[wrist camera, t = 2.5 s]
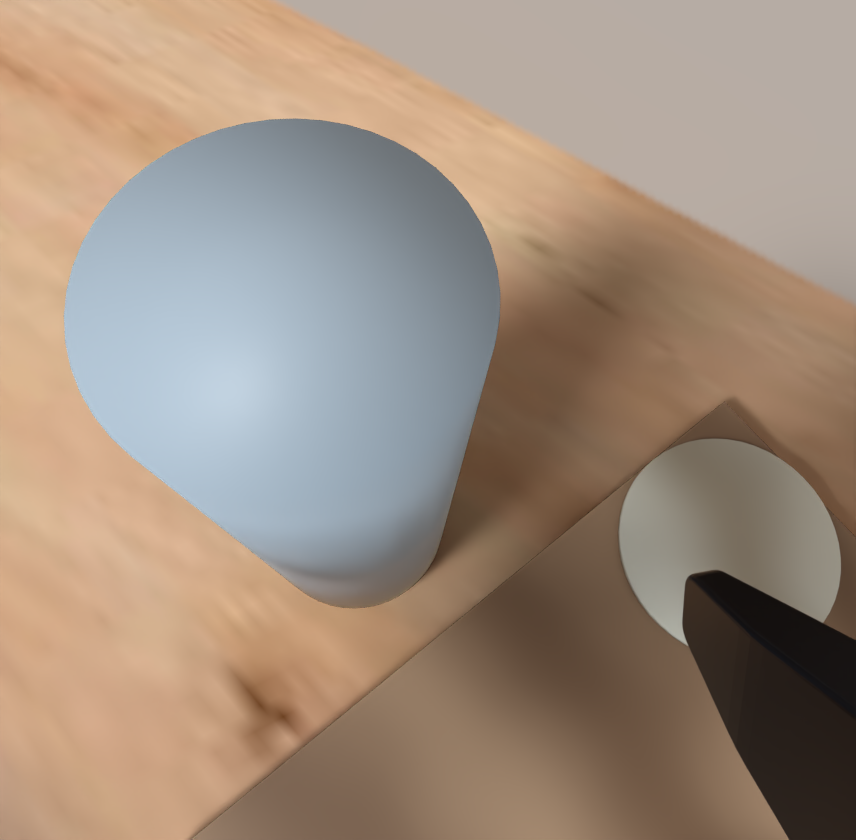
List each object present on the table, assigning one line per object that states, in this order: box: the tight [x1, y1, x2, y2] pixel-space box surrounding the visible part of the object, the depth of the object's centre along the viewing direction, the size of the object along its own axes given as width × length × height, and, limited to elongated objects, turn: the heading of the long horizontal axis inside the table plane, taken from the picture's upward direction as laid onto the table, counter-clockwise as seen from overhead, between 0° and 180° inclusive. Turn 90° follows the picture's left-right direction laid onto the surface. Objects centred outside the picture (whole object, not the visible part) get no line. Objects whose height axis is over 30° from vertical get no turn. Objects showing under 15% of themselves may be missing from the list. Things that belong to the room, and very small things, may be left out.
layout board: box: [191, 402, 856, 840], centre depth 18 cm, size 19×14×1 cm
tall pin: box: [64, 119, 500, 608], centre depth 14 cm, size 5×5×13 cm
